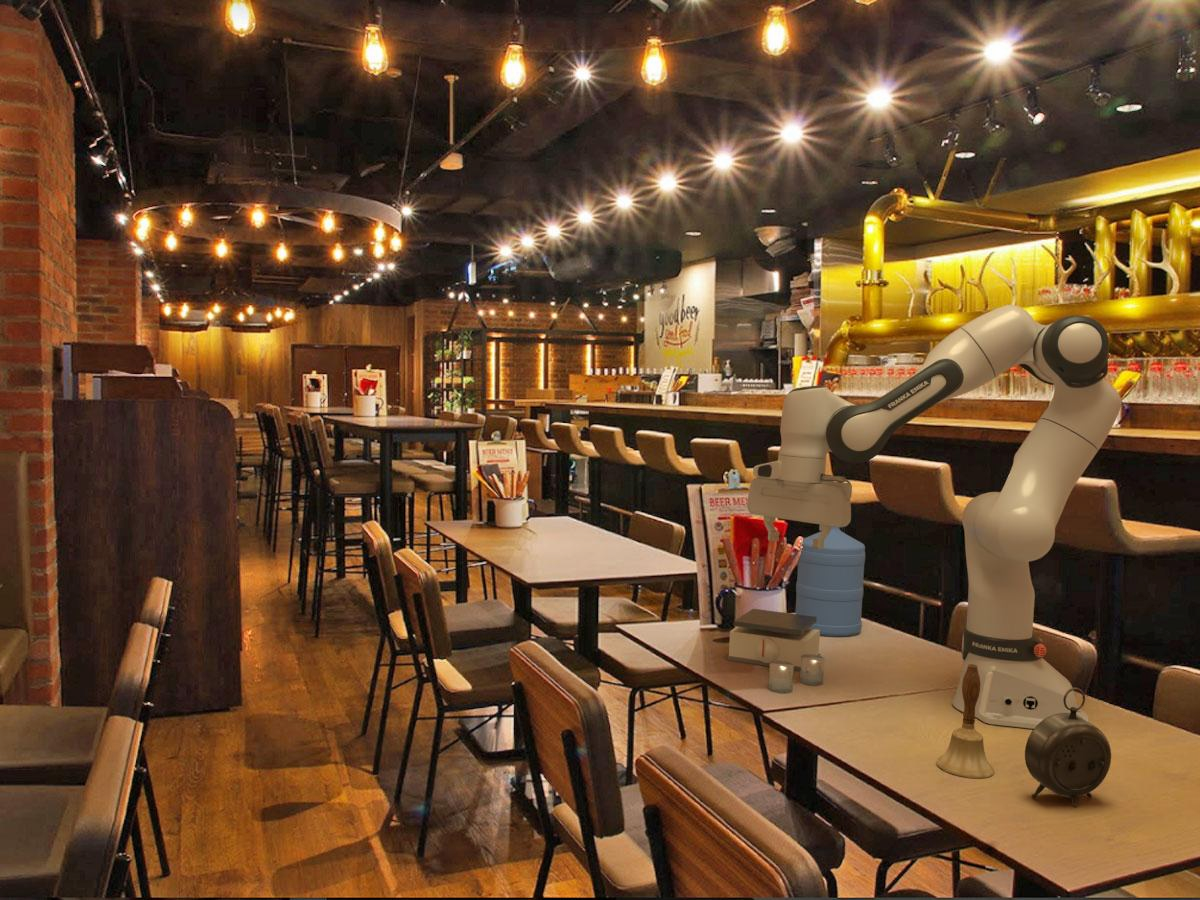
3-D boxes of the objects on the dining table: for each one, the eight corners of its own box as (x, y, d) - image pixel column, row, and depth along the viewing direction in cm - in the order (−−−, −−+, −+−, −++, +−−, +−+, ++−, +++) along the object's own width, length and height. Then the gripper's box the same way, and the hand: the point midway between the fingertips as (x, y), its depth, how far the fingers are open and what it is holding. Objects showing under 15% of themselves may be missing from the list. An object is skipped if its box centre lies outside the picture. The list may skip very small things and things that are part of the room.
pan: (816, 626, 213) (816, 616, 212) (800, 640, 200) (800, 630, 200) (752, 617, 219) (753, 608, 218) (733, 630, 206) (733, 621, 206)
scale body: (820, 657, 212) (821, 629, 211) (805, 672, 200) (806, 643, 200) (744, 646, 219) (746, 619, 218) (726, 660, 207) (727, 631, 207)
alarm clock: (1089, 792, 143) (1097, 681, 142) (1114, 808, 138) (1123, 693, 137) (1019, 794, 142) (1027, 682, 141) (1042, 810, 136) (1050, 694, 135)
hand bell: (1003, 769, 151) (1010, 666, 150) (979, 783, 145) (985, 675, 144) (951, 754, 157) (957, 654, 156) (926, 766, 151) (932, 663, 150)
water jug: (864, 639, 229) (871, 518, 227) (795, 634, 231) (801, 515, 230) (858, 624, 244) (864, 511, 243) (792, 619, 247) (798, 507, 245)
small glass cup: (825, 681, 194) (826, 656, 194) (820, 687, 190) (821, 661, 190) (803, 678, 196) (804, 653, 196) (797, 683, 192) (798, 658, 192)
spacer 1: (794, 689, 189) (796, 663, 188) (789, 695, 185) (790, 668, 184) (772, 685, 191) (773, 659, 190) (765, 691, 187) (767, 665, 186)
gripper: (860, 477, 183) (854, 551, 184) (762, 465, 196) (757, 535, 196) (844, 478, 178) (838, 554, 179) (745, 466, 191) (740, 537, 192)
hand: (795, 544), depth 188 cm, fingers open, 8 cm apart
